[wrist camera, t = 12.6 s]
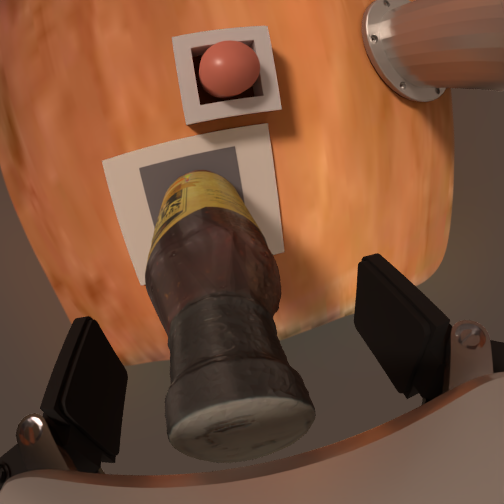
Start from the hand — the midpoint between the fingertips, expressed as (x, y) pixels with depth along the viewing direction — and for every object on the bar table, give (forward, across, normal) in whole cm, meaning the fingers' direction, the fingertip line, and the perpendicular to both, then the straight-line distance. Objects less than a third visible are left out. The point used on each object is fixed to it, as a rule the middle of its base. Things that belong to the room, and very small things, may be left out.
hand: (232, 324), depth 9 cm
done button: (+15, -3, -10) cm, 18 cm away
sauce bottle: (+16, +1, +1) cm, 16 cm away
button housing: (+17, -3, -10) cm, 19 cm away
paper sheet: (+16, +1, +1) cm, 16 cm away
